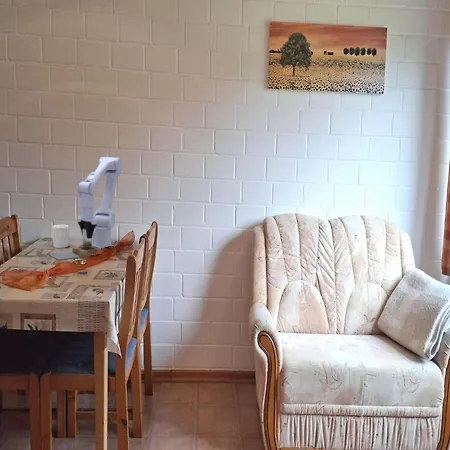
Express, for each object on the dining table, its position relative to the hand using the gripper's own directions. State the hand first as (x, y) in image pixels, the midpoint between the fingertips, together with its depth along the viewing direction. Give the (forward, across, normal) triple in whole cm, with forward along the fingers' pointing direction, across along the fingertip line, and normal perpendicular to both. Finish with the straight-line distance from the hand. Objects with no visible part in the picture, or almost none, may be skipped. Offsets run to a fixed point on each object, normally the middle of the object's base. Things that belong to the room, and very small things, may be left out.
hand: (87, 237), depth 246 cm
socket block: (+8, 0, 0) cm, 8 cm away
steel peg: (+4, 0, 0) cm, 4 cm away
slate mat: (+8, 0, -11) cm, 13 cm away
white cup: (+8, -20, -4) cm, 22 cm away
